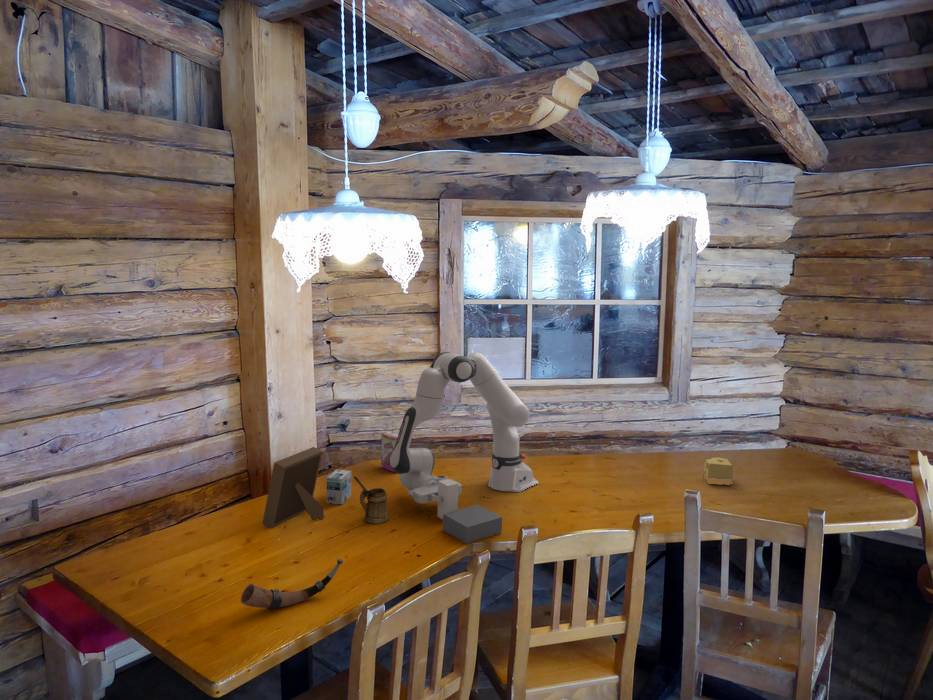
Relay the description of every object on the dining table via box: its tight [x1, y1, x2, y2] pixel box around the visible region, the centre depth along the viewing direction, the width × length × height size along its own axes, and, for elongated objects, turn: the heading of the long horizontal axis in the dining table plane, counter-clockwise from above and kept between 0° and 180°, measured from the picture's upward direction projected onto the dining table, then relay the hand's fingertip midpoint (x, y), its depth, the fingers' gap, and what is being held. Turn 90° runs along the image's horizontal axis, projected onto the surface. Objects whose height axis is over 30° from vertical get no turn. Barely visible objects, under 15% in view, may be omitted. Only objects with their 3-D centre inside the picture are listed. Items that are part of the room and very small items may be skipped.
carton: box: [437, 478, 460, 520], centre depth 262 cm, size 5×6×14 cm
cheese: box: [702, 457, 734, 480], centre depth 312 cm, size 10×11×10 cm
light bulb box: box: [326, 468, 352, 505], centre depth 277 cm, size 11×7×11 cm, turn 168°
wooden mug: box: [353, 475, 390, 525], centre depth 258 cm, size 9×14×18 cm, turn 115°
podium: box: [442, 504, 503, 545], centre depth 251 cm, size 16×14×6 cm
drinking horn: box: [240, 558, 344, 610], centre depth 199 cm, size 6×30×10 cm, turn 125°
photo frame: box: [261, 446, 325, 530], centre depth 255 cm, size 15×22×25 cm
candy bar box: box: [380, 431, 398, 474], centre depth 314 cm, size 11×5×16 cm, turn 46°
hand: (449, 498), depth 261 cm, fingers open, 6 cm apart
